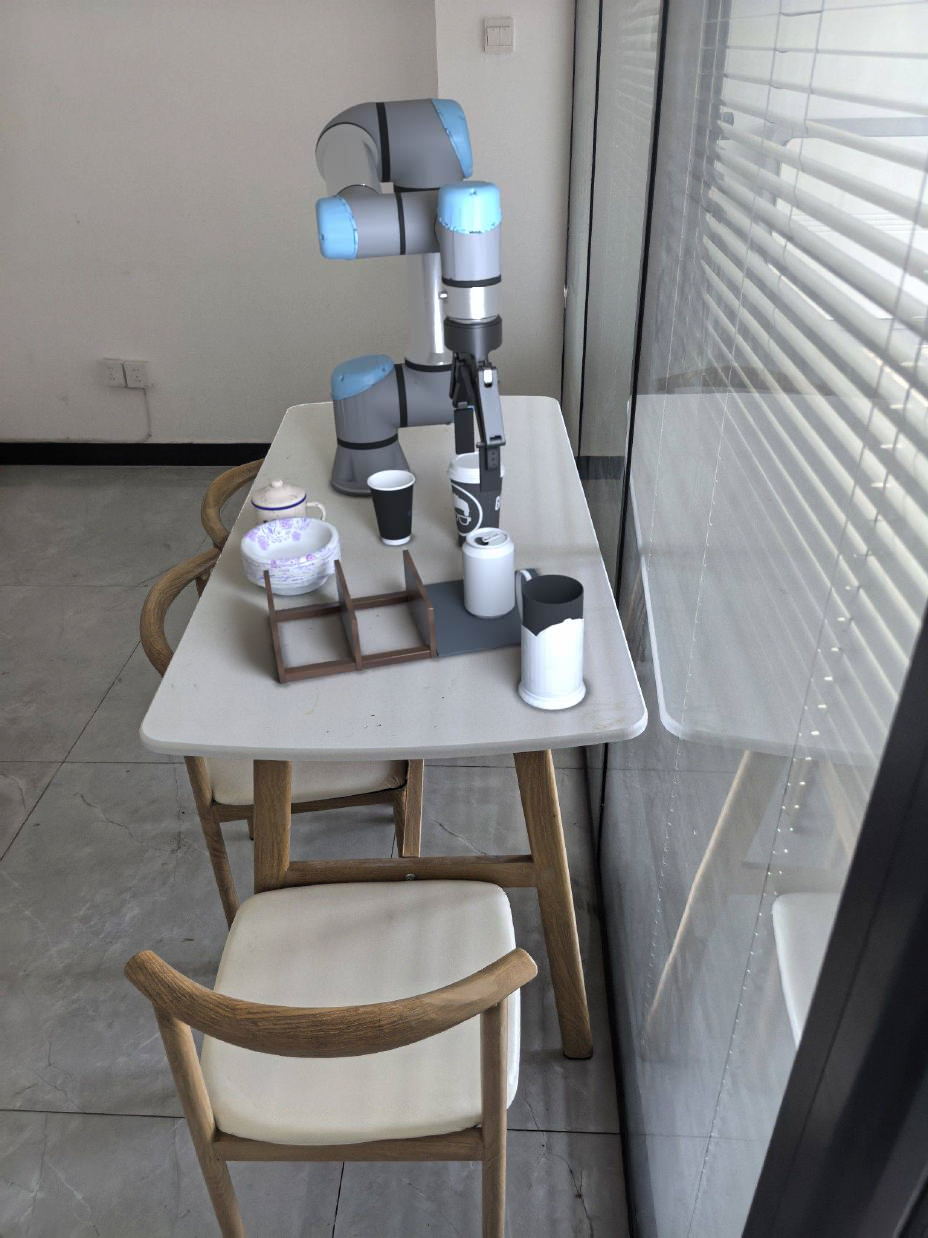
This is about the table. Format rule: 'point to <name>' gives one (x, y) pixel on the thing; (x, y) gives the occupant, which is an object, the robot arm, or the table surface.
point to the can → (488, 573)
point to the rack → (346, 607)
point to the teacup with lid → (281, 502)
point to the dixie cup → (393, 504)
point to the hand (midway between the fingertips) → (477, 471)
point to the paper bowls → (291, 554)
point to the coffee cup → (472, 496)
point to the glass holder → (551, 640)
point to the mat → (470, 621)
